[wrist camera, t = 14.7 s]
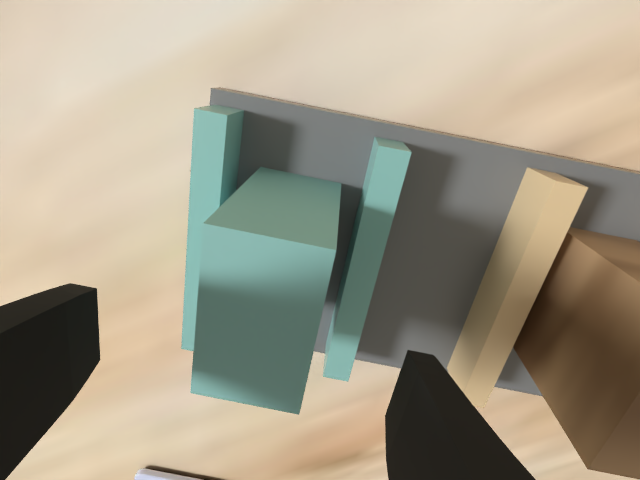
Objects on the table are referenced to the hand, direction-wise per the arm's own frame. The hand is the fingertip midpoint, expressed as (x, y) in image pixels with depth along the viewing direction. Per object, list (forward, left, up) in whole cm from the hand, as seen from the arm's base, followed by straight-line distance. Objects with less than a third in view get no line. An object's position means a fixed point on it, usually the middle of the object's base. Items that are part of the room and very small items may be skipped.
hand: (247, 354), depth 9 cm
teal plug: (0, 0, -7) cm, 7 cm away
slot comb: (0, -6, -8) cm, 9 cm away
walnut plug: (0, -11, -7) cm, 13 cm away
